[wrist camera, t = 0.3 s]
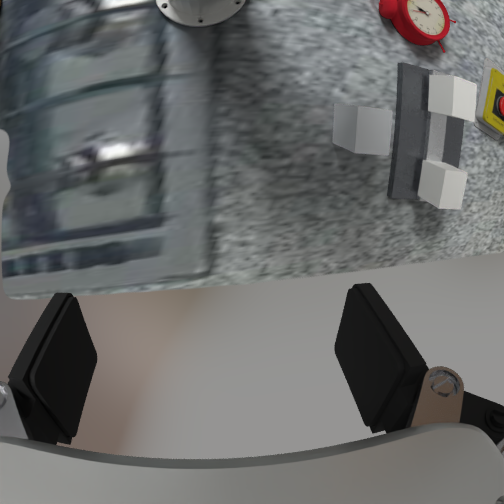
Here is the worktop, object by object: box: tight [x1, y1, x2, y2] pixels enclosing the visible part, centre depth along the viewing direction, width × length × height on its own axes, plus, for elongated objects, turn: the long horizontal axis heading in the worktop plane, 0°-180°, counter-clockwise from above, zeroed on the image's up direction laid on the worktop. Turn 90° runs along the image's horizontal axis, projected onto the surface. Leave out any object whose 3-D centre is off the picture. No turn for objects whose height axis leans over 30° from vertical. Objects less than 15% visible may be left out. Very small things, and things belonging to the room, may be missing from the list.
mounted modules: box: [418, 75, 477, 209], centre depth 38 cm, size 20×5×6 cm, turn 0°
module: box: [332, 103, 393, 156], centre depth 38 cm, size 6×5×8 cm
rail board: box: [387, 63, 464, 201], centre depth 42 cm, size 22×14×2 cm, turn 0°
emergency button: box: [474, 58, 504, 140], centre depth 38 cm, size 9×4×15 cm
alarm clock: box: [379, 0, 456, 53], centre depth 31 cm, size 10×6×15 cm
